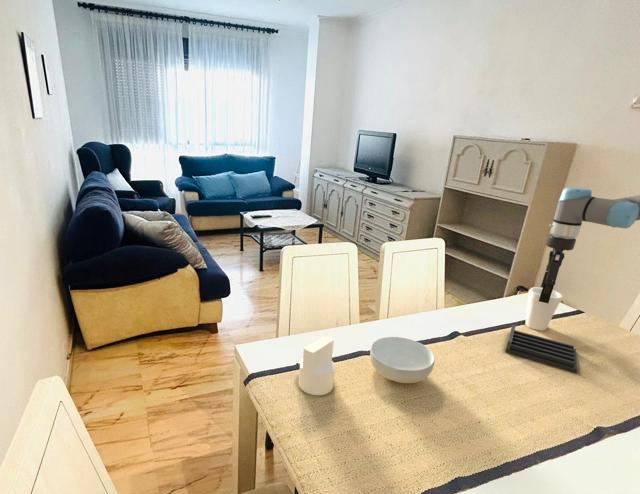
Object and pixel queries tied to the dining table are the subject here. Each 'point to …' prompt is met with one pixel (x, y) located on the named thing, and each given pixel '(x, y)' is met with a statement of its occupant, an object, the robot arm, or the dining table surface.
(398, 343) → the cereal bowl
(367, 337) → the dining table surface
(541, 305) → the foam cup
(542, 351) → the drying rack
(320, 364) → the base with upright slab
